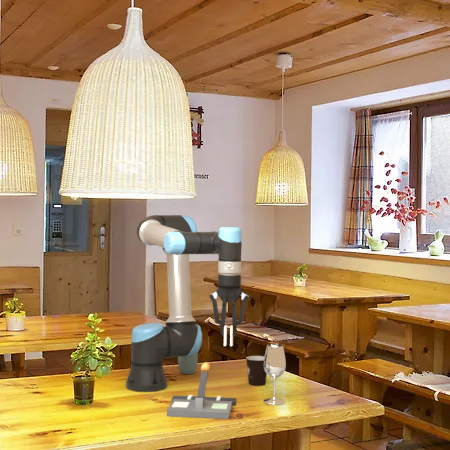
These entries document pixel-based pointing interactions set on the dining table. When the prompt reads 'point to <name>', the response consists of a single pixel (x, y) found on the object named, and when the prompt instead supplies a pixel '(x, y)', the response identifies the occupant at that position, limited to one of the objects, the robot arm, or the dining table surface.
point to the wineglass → (274, 368)
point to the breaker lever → (203, 379)
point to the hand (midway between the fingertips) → (228, 345)
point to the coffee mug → (256, 370)
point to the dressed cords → (206, 398)
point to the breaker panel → (200, 408)
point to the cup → (188, 364)
